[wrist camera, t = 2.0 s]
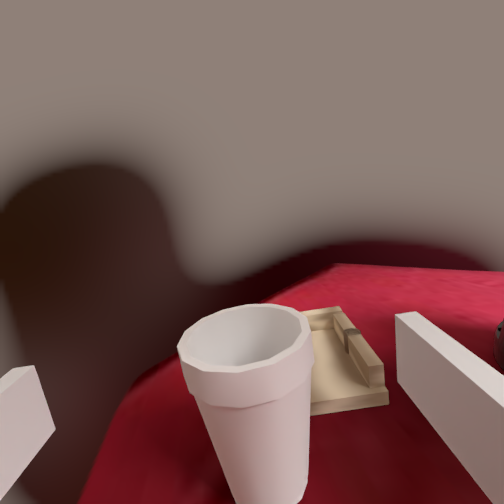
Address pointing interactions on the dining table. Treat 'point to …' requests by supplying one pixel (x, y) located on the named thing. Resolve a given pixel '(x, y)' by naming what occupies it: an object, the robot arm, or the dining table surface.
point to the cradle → (342, 365)
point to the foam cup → (254, 397)
